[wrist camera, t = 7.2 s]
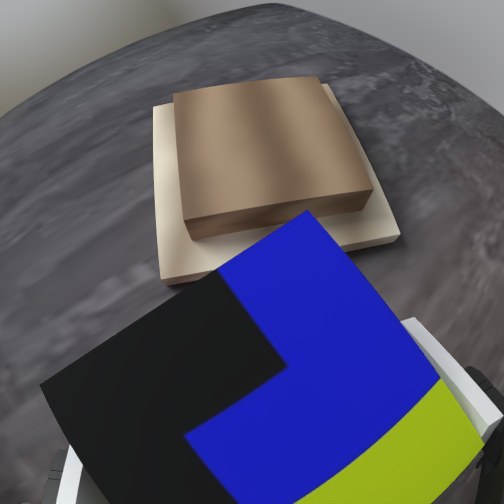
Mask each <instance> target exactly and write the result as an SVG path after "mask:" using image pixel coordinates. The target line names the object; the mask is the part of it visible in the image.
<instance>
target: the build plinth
mask: <svg viewBox="0 0 504 504" xmlns="http://www.w3.org/2000/svg"><path fill="white" fill-rule="evenodd" d="M173 100H174V103H169V104H164V105H160V106H156V107H153V158H154V190H155V210H156V227H157V241H158V253H159V265H160V275H161V280H162V281H163V283H164V284H165V285H166V286H169V285H174V284H180V283H186V282H191V281H197V280H200V279H201V278H203V277H204V276H206V275H207V274H209V273H210V272H212V271H213V270H215V269H216V268H218V267H219V266H221V265H223V264H224V263H226V262H227V261H229V260H230V259H232V258H233V257H235V256H236V255H238V254H239V253H241V252H243V251H244V250H246V249H247V248H249V247H250V246H252V245H253V244H255V243H256V242H258V241H260V240H261V239H263V238H264V237H266V236H267V235H269V234H270V233H272V232H273V231H275V230H276V229H278V228H280V227H281V226H283V225H284V224H286V223H287V222H289V221H290V220H292V219H294V218H295V217H297V216H298V215H300V214H301V213H303V212H304V211H306V210H307V209H308V210H309V212H310V213H311V214H312V215H313V216H314V217H315V218H316V219H317V221H318V222H319V223H320V224H321V225H322V226H323V228H324V229H325V230H326V231H327V232H328V233H329V234H330V236H331V237H332V238H333V239H334V240H335V241H336V243H337V244H338V245H339V246H340V247H341V249H342V250H343V251H344V252H348V251H353V250H358V249H363V248H368V247H373V246H377V245H382V244H387V243H392V242H394V241H395V240H396V239H397V238H398V237H399V235H400V231H399V228H398V226H397V223H396V221H395V219H394V216H393V214H392V211H391V209H390V206H389V204H388V202H387V199H386V197H385V195H384V193H383V190H382V188H381V186H380V184H379V181H378V179H377V177H376V175H375V173H374V171H373V169H372V166H371V164H370V162H369V160H368V158H367V156H366V154H365V152H364V150H363V148H362V146H361V144H360V142H359V140H358V138H357V136H356V134H355V132H354V131H353V129H352V127H351V125H350V123H349V121H348V119H347V117H346V116H345V114H344V112H343V110H342V108H341V107H340V105H339V103H338V101H337V100H336V98H335V96H334V94H333V93H332V91H331V89H330V88H329V86H328V84H321V83H320V81H319V80H318V78H317V76H312V77H293V78H280V79H268V80H259V81H250V82H241V83H234V84H227V85H220V86H214V87H207V88H202V89H196V90H191V91H185V92H180V93H175V94H173Z"/></svg>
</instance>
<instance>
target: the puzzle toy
mask: <svg viewBox="0 0 504 504" xmlns="http://www.w3.org/2000/svg"><path fill="white" fill-rule="evenodd" d="M40 387H41V389H42V391H43V394H44V396H45V398H46V400H47V402H48V404H49V406H50V408H51V410H52V412H53V414H54V416H55V418H56V420H57V422H58V424H59V425H60V427H61V429H62V431H63V433H64V435H65V436H66V438H67V440H68V442H69V443H70V445H71V447H72V448H73V450H74V452H75V453H76V455H77V457H78V458H79V460H80V461H81V463H82V465H83V466H84V468H85V469H86V471H87V472H88V474H89V475H90V477H91V478H92V480H93V481H94V483H95V484H96V485H97V487H98V488H99V490H100V491H101V492H102V494H103V495H104V497H105V498H106V499H107V501H108V502H109V503H110V504H431V503H432V502H433V501H434V500H435V499H436V498H437V497H438V496H439V495H440V494H441V493H442V492H443V491H444V490H445V489H446V488H447V487H448V486H449V485H450V484H451V483H452V482H453V481H454V480H455V479H456V478H457V477H458V476H459V474H460V473H461V472H462V471H463V470H464V469H465V468H466V467H467V465H468V464H469V463H470V462H471V461H472V460H473V458H474V457H475V456H476V455H477V454H478V452H479V451H480V450H481V449H482V447H483V446H484V445H485V444H484V443H483V441H482V439H481V438H480V436H479V434H478V433H477V431H476V430H475V428H474V427H473V425H472V423H471V422H470V420H469V419H468V417H467V416H466V414H465V413H464V411H463V410H462V408H461V406H460V405H459V403H458V402H457V400H456V399H455V397H454V396H453V395H452V393H451V392H450V390H449V389H448V387H447V386H446V384H445V383H444V381H443V380H442V378H441V377H440V376H439V374H438V373H437V371H436V370H435V369H434V367H433V366H432V364H431V363H430V361H429V360H428V359H427V357H426V356H425V355H424V353H423V352H422V350H421V349H420V348H419V346H418V345H417V344H416V342H415V341H414V340H413V338H412V337H411V335H410V334H409V333H408V331H407V330H406V329H405V327H404V326H403V325H402V324H401V322H400V321H399V320H398V318H397V317H396V316H395V314H394V313H393V312H392V310H391V309H390V308H389V307H388V305H387V304H386V303H385V301H384V300H383V299H382V298H381V296H380V295H379V294H378V293H377V291H376V290H375V289H374V288H373V286H372V285H371V284H370V283H369V281H368V280H367V279H366V278H365V276H364V275H363V274H362V273H361V271H360V270H359V269H358V268H357V267H356V265H355V264H354V263H353V262H352V261H351V259H350V258H349V257H348V256H347V255H346V253H345V252H344V251H343V250H342V249H341V247H340V246H339V245H338V244H337V243H336V241H335V240H334V239H333V238H332V237H331V236H330V234H329V233H328V232H327V231H326V230H325V229H324V228H323V226H322V225H321V224H320V223H319V222H318V221H317V219H316V218H315V217H314V216H313V215H312V214H311V213H310V212H309V210H308V209H307V210H306V211H304V212H303V213H301V214H300V215H298V216H297V217H295V218H294V219H292V220H290V221H289V222H287V223H286V224H284V225H283V226H281V227H280V228H278V229H276V230H275V231H273V232H272V233H270V234H269V235H267V236H266V237H264V238H263V239H261V240H260V241H258V242H256V243H255V244H253V245H252V246H250V247H249V248H247V249H246V250H244V251H243V252H241V253H239V254H238V255H236V256H235V257H233V258H232V259H230V260H229V261H227V262H226V263H224V264H223V265H221V266H219V267H218V268H216V269H215V270H213V271H212V272H210V273H209V274H207V275H206V276H204V277H203V278H201V279H200V280H198V281H196V282H195V283H193V284H192V285H190V286H189V287H187V288H186V289H184V290H183V291H181V292H180V293H178V294H177V295H175V296H173V297H172V298H170V299H169V300H167V301H166V302H164V303H163V304H161V305H160V306H158V307H157V308H155V309H154V310H152V311H151V312H149V313H148V314H146V315H144V316H143V317H141V318H140V319H138V320H137V321H135V322H134V323H132V324H131V325H129V326H128V327H126V328H125V329H123V330H122V331H120V332H119V333H117V334H116V335H114V336H113V337H111V338H109V339H108V340H106V341H105V342H103V343H102V344H100V345H99V346H97V347H96V348H94V349H93V350H91V351H90V352H88V353H87V354H85V355H84V356H82V357H81V358H79V359H78V360H76V361H75V362H73V363H72V364H70V365H69V366H67V367H66V368H64V369H63V370H61V371H60V372H58V373H57V374H55V375H54V376H52V377H51V378H49V379H47V380H46V381H44V382H43V383H41V384H40Z"/></svg>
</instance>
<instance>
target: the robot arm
mask: <svg viewBox="0 0 504 504" xmlns="http://www.w3.org/2000/svg"><path fill="white" fill-rule="evenodd" d="M400 322H401V324H402V325H403V326H404V327H405V329H406V330H407V331H408V333H409V334H410V335H411V337H412V338H413V340H414V341H415V342H416V344H417V345H418V346H419V348H420V349H421V350H422V352H423V353H424V355H425V356H426V357H427V359H428V360H429V361H430V363H431V364H432V366H433V367H434V369H435V370H436V371H437V373H438V374H439V376H440V377H441V378H442V380H443V381H444V383H445V384H446V386H447V387H448V389H449V390H450V392H451V393H452V395H453V396H454V397H455V399H456V400H457V402H458V403H459V405H460V406H461V408H462V410H463V411H464V413H465V414H466V416H467V417H468V419H469V420H470V422H471V423H472V425H473V427H474V428H475V430H476V431H477V433H478V434H479V436H480V438H481V439H482V441H483V443H484V444H485V445H484V446H483V447H482V449H481V450H483V451H484V453H485V454H484V455H483V457H482V458H481V459H480V461H479V462H478V463H477V466H476V468H478V467H479V466H480V465H481V464H482V467H481V474H480V480H479V485H478V491H477V496H476V501H475V504H504V397H503V396H502V395H501V393H500V392H499V391H498V390H497V389H496V388H495V387H493V385H492V383H491V382H490V381H488V380H487V378H486V377H485V376H484V375H483V374H482V373H481V372H480V371H479V370H477V369H475V368H473V367H472V366H469V367H467V368H465V369H463V368H462V367H461V366H460V365H459V364H458V363H457V362H456V361H455V359H454V358H453V357H452V356H451V355H450V354H449V353H448V352H447V351H446V350H445V349H444V348H443V347H442V345H441V344H440V343H439V342H438V341H437V340H436V339H435V338H434V337H433V336H432V335H431V334H430V333H429V332H428V331H427V330H426V329H425V328H424V327H423V326H422V325H421V324H420V322H419V321H418V320H417V319H416V318H415V317H413V318H410V319H407V320H403V321H400ZM481 450H480V451H481ZM480 451H479V452H478V454H479V453H480ZM478 454H477V455H478ZM477 455H476V456H475V457H474V458H476V457H477ZM474 458H473V459H474ZM50 470H51V472H49V476H48V479H49V480H47V484H46V488H45V492H44V497H43V501H42V504H110V503H109V502H108V501H107V499H106V498H105V497H104V495H103V494H102V492H101V491H100V490H99V488H98V487H97V485H96V484H95V483H94V481H93V480H92V478H91V477H90V475H89V474H88V472H87V471H86V469H85V468H84V466H83V465H82V463H81V461H80V460H79V458H78V457H77V455H76V453H75V452H74V450H73V448H72V447H71V445H70V446H69V450H59V451H58V453H57V454H56V456H55V457H54V458H53V461H52V465H51V469H50ZM21 504H32V503H29V502H24V503H21Z"/></svg>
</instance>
